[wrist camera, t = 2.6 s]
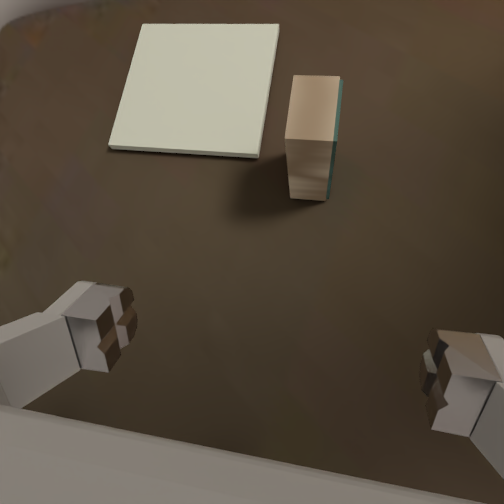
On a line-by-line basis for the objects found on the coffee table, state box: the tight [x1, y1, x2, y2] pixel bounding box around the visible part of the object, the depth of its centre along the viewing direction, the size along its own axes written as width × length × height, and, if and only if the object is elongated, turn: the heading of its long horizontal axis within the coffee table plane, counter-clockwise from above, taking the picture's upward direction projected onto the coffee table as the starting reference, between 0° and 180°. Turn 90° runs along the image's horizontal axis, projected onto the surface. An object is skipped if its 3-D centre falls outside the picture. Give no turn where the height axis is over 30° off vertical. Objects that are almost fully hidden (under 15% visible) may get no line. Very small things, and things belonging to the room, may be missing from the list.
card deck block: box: [285, 75, 343, 201], centre depth 23 cm, size 3×4×8 cm
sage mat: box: [108, 24, 279, 158], centre depth 30 cm, size 12×12×1 cm
